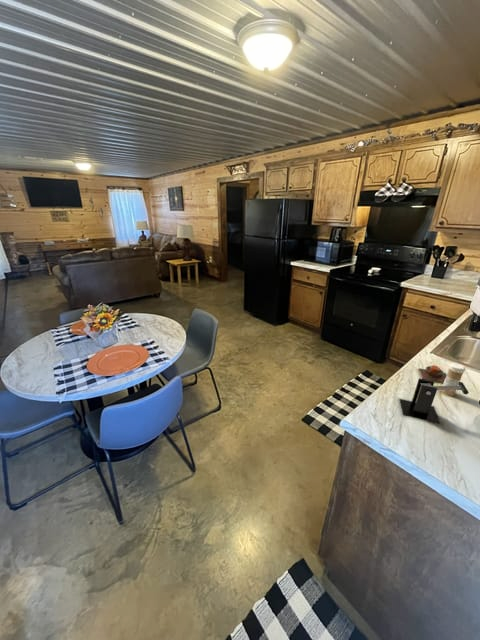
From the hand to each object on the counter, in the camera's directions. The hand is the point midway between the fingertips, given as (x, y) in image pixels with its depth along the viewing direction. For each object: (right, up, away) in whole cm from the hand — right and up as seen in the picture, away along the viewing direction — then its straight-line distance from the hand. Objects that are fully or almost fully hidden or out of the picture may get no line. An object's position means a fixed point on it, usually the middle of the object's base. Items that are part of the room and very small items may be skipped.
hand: (473, 330), depth 100 cm
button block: (-5, -21, +14) cm, 26 cm away
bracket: (-25, -29, -6) cm, 39 cm away
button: (-5, -18, +14) cm, 23 cm away
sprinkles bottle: (-7, -26, +4) cm, 27 cm away
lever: (-21, -20, -12) cm, 31 cm away
